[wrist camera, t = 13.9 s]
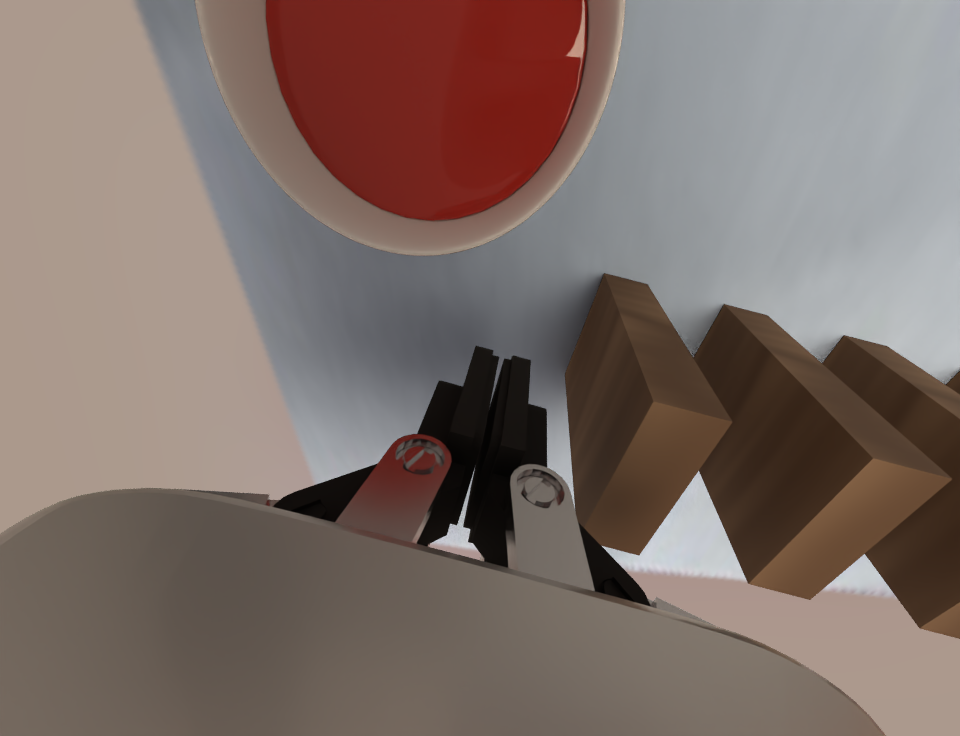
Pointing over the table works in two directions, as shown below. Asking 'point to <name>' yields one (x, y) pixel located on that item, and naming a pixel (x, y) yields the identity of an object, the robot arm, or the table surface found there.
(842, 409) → the domino
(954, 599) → the domino
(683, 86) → the table surface
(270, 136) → the candle
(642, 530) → the domino
